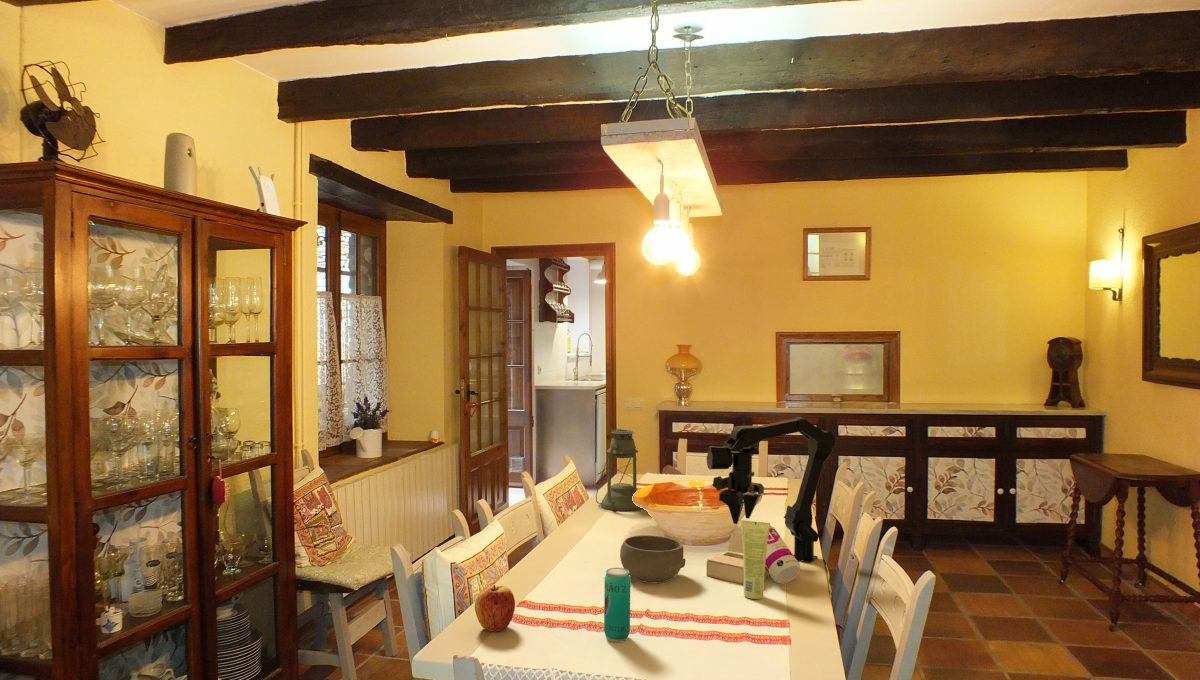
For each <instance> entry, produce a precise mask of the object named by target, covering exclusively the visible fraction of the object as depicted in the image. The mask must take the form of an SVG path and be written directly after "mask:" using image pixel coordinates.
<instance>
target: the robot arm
mask: <svg viewBox="0 0 1200 680" xmlns="http://www.w3.org/2000/svg"><path fill="white" fill-rule="evenodd" d="M794 433H795V434H796V433H800V434H801V435H802V436H803V437H805V439H807V440H808V441H807V451H808V458H807V462H806V466H805V470H804V474H803V476H802V479H801V482H800V487H799V491H798V494H797V496H796V497H797V498H796V501H795V502H794V504H793V505H792V506H791V505H787V506H786V512H785V514H784V516H783V519H784V524H785V526H786V528H787V529H788V530H789V531H790V534H791V535H792V536H793V539H794V540H793V541H794V542H793V543H794V545H793V546H794V547H793V548H794V549H793V555H794V557H795V558H796V560H797V561H801V562H806V563H812V562H813V561H816V560H817V559H818V558H819V557H818V555H814V553H815V552H814V551H815V543H816V542H818V540H819V538H820V534H819V533H818V532H817V531H816V530H815V529H814V528H813V527H812V524H813V512H812V511H813V510H812V506H813V503H814V499H815V496H816V493H817V490H818V486H819V482H820V478H821V474H822V471H823V469H824V465H825V461H826V460H827V459H828V458H829V457H830V456H831V455H832V453H833V451H834V449H835V446H836V441H837V439H836V438H835V435H834V434H833V433H831V432H829V431H825V430H822V429H821V428H820V427H817V426H816V425H814V424H812V423H811V422H809V421H808V420H807V419H806V418H803V417H800V416H797V417H794V418H791V419H786V420H782V421H777V422H772V423H767V424H762V425H736V426H734V427H733V428H732V430H731V431H730V436H729V437H728V438H727V440H726V442H724V444H723V446H715V445H710V446H708V448H709V449H708V451H707V454H706V466H707V468H708V470H729V469H730V468H731V467H732V469H731V470H732V471H730V472H729V473H728V476H726V477H723V478H722V477H721V476H716V477H713V481H712V487H713V488H715V490H716V492H719V491H720V490H721V491H720V493H718V501H719V502H722V503H723V504H725V505H726V506H727V507H728V510H729V512H730V517H731V519H732V522H733V524H734V525H737V524H739V521H740V517H741V514H742V511H743V509H744V515H745V519H747V520H748V519H750V518H751V516H752V514H753V512H754V510H755V508H756V505H757V504H758V502H759V499H760V498H761V497H762V494H765V493H764V491H765V488H764V485H763V484H762V483H758V482H752V481H753V477H754V476H755V471H753V455H759V454H760V451H759V450H757V448H756V446H755V445H757V444H759V443H760V442H762V441H764V440H767V439H771V438H776V437H781V436H786V435H791V434H794Z"/></svg>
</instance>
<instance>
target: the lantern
mask: <svg viewBox="0 0 1200 680" xmlns="http://www.w3.org/2000/svg"><path fill="white" fill-rule="evenodd" d="M610 431H611V432H610V433H611V434H612V438H611V440H610V446H609V448H608V449H607V450H606V453H608V456H607V458H606V461H605V464H604V466H603V470H602V473H601V476H600V479H599V481H598V486H597V490H596V494H595V502H596V504H598V505H599V504H600V508H601V509H603V510H606V511H610V512H621V513H623V512H626V513H627V512H628V513H629V512H636V511H640V510H642V509H641V508H640V507H638V506H636V505H635V504H634V503H633V501H632V496H633V494H634V493H635V492H636V491H638V486H637V461H638V459H637V454H638V453H639V451H638V450H637V448H636V447H637V446H636V444H635V439H634V438H633V434H635V431H633V430H630V429H624V428H614V429H610ZM613 458H614V459H628V462H627V465H624V466H622V467H621V469H622V468H625V470H624V472H623V471H621V470H620V469H617V468H616V467H614V466H613V465H612V462H613ZM631 459H632V463H630V461H631ZM631 464H632V476H631V475H629V474H627V473H626V471H627V469H628V467H629V466H630V465H631ZM606 467H607V484H606V485H607V490H606V493H605V495H604V497H603V498H602V499H601V502H599V501H598V491H599V487H600V485H601V481H602V477H603V475H604V472H605V468H606ZM612 469H615V470H614V471H613V472H612ZM617 471H618V472H620V473H622V476H621V479H620V480H619V482H618V483H614V484H612V474H614V473H615V472H617ZM625 475H626V476H629V477H630V478H632V482H631V483H626V482H625V483H624V482H622V480H623V478H624V476H625Z"/></svg>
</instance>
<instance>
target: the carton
mask: <svg viewBox="0 0 1200 680" xmlns="http://www.w3.org/2000/svg"><path fill="white" fill-rule="evenodd" d="M705 572H706V573H705V574H706V577H711V578H714V579H719V580H723V581H728V582H732V583H736V584H740V585H744V559H743V554H742V553H737V552H732V551H728V550H726V551H724V552H722V553H719V554H716V555H714V556H711V557H710V558H708V559H707V560H706V571H705ZM769 577H771V576H770V574H769V572H768V571H767V569H766V568H765V575H764V580H766V579H767V578H769Z"/></svg>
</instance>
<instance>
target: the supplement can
mask: <svg viewBox="0 0 1200 680" xmlns="http://www.w3.org/2000/svg"><path fill="white" fill-rule="evenodd" d="M765 568H766V569H767V571H768V572H769V574H770V576H769V577H770V578H771V579H772V581H773V582H775V583H776V584H786V583H790V582H791V581H793V580H794V579H795V578H796V577H798V574H799V573H800V571H801V564H800V563H799V560H796V558H795V557H794V553H793V552H792V551H791V549H790V548H789V547H788V545H787V544H786V542H785V541H784V540H783V538H782V537H781V535H780V534H779V532H778V531H777V529H776V528H775V527H773V526H772V525H770V529H769V535H768V542H767V551H766V562H765Z"/></svg>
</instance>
